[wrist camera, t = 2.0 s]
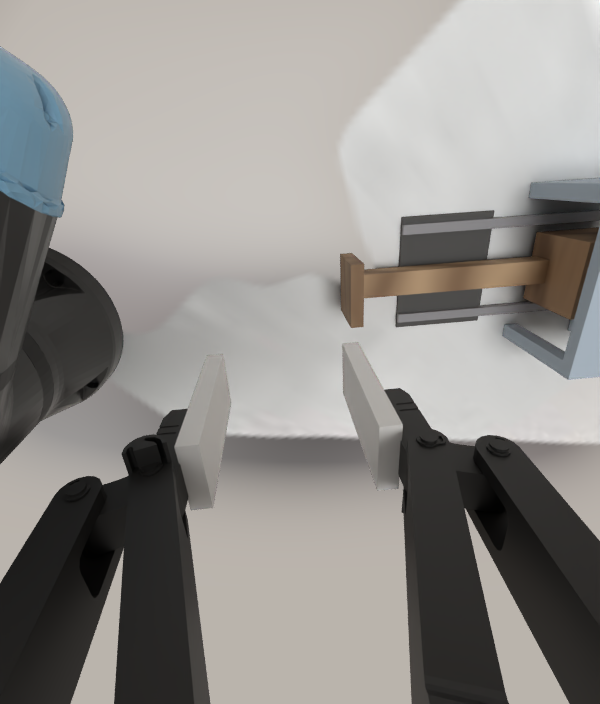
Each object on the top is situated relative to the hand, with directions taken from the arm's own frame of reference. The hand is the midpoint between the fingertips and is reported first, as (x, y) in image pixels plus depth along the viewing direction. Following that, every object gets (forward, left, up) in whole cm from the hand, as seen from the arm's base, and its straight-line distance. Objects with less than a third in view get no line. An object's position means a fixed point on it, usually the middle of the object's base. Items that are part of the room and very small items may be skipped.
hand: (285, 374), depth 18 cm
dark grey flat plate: (+15, 0, -17) cm, 23 cm away
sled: (+17, 0, -16) cm, 24 cm away
